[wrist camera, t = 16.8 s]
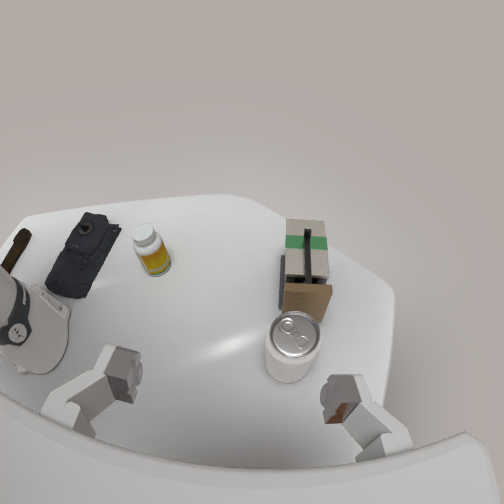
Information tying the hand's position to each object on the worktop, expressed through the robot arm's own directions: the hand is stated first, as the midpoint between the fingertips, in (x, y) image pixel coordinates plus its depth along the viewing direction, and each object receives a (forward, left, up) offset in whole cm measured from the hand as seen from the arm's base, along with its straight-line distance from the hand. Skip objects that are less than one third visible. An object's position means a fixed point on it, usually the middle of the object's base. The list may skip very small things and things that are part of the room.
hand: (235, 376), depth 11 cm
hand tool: (-72, -9, -29) cm, 79 cm away
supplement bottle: (-30, +14, -29) cm, 44 cm away
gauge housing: (-6, +24, -29) cm, 38 cm away
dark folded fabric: (-49, +6, -29) cm, 58 cm away
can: (-1, +10, -29) cm, 31 cm away
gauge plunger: (-4, +20, -26) cm, 33 cm away
